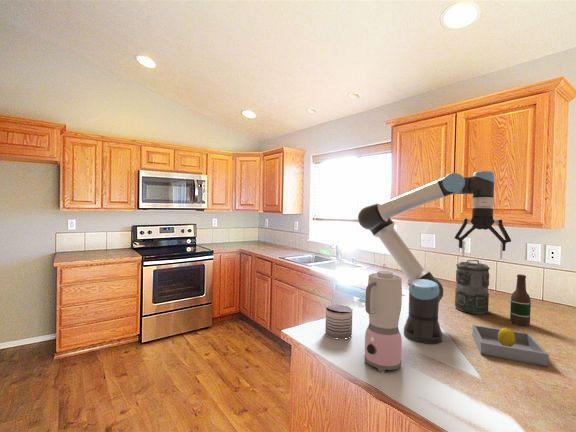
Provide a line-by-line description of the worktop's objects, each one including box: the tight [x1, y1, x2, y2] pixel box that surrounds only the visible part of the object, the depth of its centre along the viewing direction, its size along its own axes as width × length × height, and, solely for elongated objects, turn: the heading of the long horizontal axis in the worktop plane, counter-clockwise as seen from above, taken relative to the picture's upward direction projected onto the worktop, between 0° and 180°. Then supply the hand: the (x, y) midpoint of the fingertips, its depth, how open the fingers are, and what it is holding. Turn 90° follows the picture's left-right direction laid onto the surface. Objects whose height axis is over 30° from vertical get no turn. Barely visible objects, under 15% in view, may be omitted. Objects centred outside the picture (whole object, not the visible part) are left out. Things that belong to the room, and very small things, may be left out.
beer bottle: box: [509, 273, 532, 327], centre depth 145 cm, size 8×8×24 cm
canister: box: [454, 259, 491, 315], centre depth 164 cm, size 16×16×28 cm
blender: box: [364, 270, 403, 373], centre depth 101 cm, size 16×12×32 cm
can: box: [324, 303, 354, 339], centre depth 126 cm, size 11×11×12 cm
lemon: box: [498, 327, 515, 347], centre depth 116 cm, size 6×6×8 cm
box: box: [471, 324, 550, 368], centre depth 116 cm, size 20×20×4 cm
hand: (481, 257), depth 126 cm, fingers open, 13 cm apart
